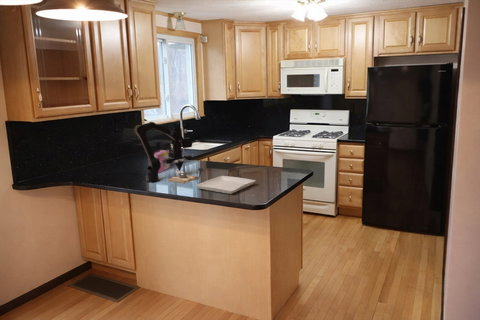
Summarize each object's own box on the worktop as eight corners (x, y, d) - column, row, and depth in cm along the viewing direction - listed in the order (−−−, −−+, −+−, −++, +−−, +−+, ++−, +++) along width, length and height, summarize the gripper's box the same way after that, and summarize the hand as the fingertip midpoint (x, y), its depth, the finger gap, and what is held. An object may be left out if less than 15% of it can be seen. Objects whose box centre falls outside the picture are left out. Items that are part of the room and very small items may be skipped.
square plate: (195, 190, 245) (195, 184, 244) (222, 180, 267) (221, 174, 266) (231, 196, 230) (231, 190, 229) (256, 185, 252) (256, 179, 251)
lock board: (184, 183, 262) (184, 180, 261) (168, 181, 269) (167, 178, 269) (198, 178, 274) (198, 175, 274) (182, 176, 282) (182, 174, 281)
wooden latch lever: (188, 177, 271) (187, 172, 270) (181, 178, 268) (181, 173, 267) (180, 174, 281) (179, 169, 281) (173, 175, 279) (173, 170, 278)
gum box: (162, 166, 319) (160, 149, 316) (171, 166, 317) (170, 149, 314) (149, 173, 296) (147, 155, 293) (159, 173, 294) (157, 155, 291)
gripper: (185, 145, 286) (187, 167, 290) (160, 149, 278) (162, 171, 281) (191, 147, 277) (193, 169, 280) (165, 152, 268) (168, 174, 271)
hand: (179, 171), depth 278 cm, fingers closed
